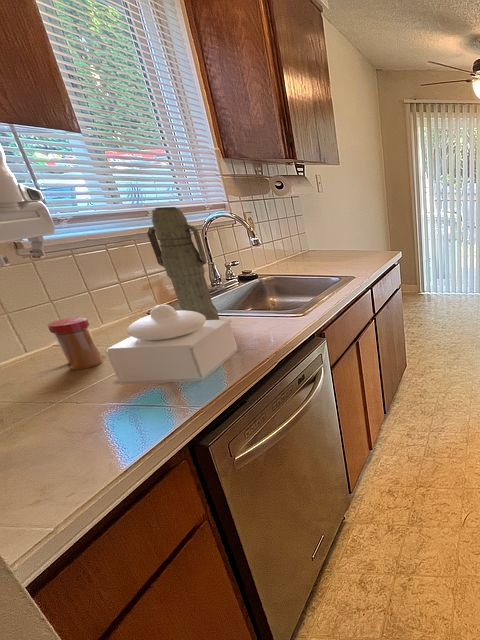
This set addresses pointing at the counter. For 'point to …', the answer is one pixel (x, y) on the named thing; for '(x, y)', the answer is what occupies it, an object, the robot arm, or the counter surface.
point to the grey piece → (182, 260)
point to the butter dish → (172, 347)
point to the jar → (79, 349)
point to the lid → (68, 325)
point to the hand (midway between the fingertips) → (22, 261)
